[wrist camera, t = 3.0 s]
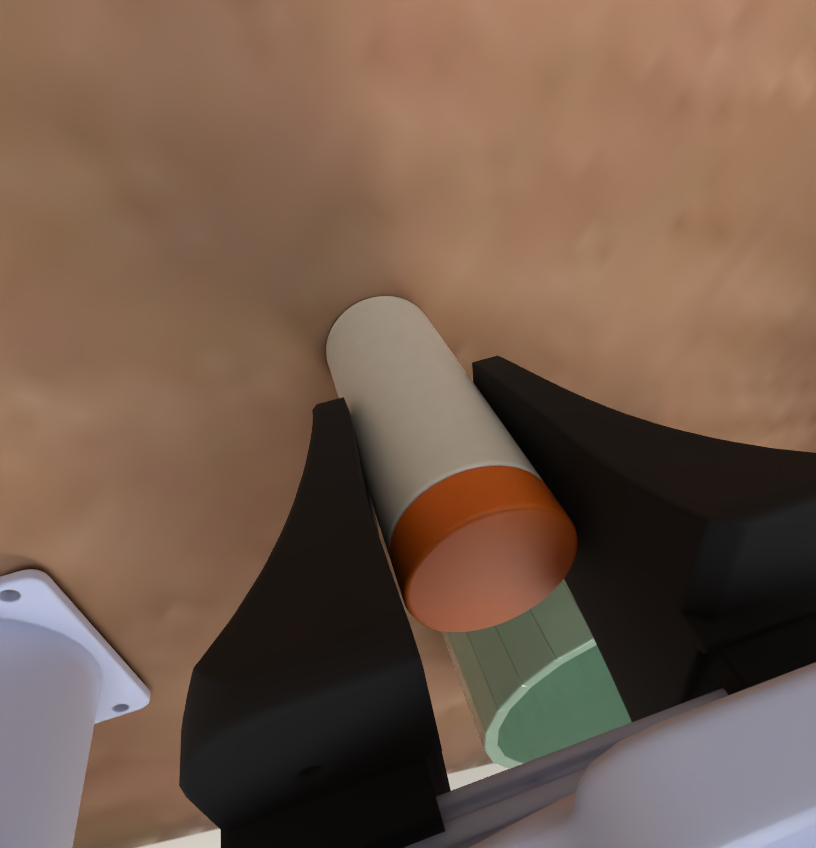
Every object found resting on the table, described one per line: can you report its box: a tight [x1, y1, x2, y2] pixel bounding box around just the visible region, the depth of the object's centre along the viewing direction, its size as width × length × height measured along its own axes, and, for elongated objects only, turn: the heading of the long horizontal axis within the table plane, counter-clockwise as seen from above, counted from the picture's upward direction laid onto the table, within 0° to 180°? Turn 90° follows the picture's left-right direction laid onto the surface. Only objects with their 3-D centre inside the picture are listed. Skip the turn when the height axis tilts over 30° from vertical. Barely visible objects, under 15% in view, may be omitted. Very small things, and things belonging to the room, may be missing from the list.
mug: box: [441, 579, 632, 769], centre depth 21 cm, size 12×10×6 cm
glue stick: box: [326, 296, 578, 632], centre depth 12 cm, size 3×3×8 cm
